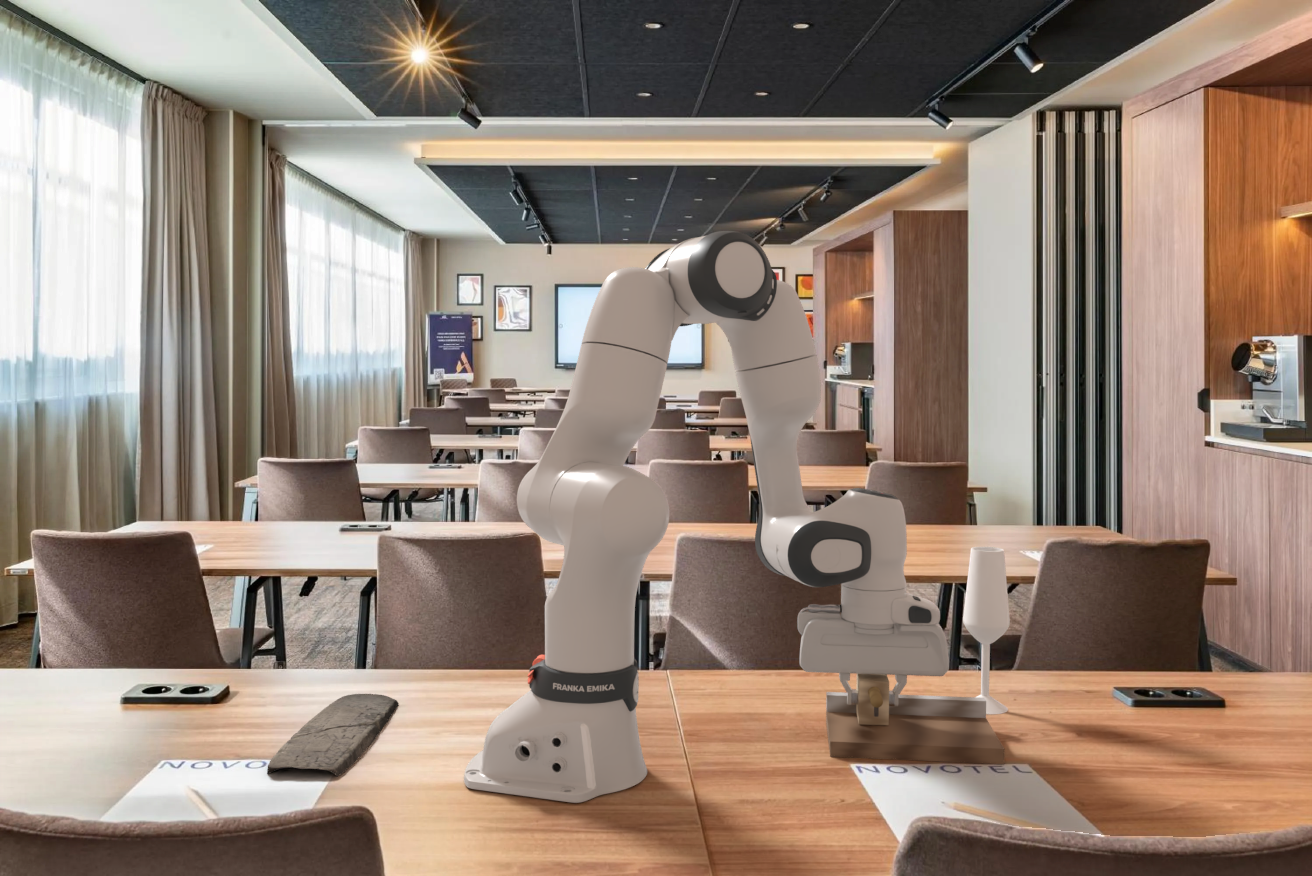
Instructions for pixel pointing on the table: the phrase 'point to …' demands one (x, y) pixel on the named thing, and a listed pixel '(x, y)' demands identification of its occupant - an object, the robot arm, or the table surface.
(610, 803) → the table surface
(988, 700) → the champagne flute
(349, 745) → the stone slab
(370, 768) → the table surface
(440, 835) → the table surface
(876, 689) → the marking gauge
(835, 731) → the walnut board
